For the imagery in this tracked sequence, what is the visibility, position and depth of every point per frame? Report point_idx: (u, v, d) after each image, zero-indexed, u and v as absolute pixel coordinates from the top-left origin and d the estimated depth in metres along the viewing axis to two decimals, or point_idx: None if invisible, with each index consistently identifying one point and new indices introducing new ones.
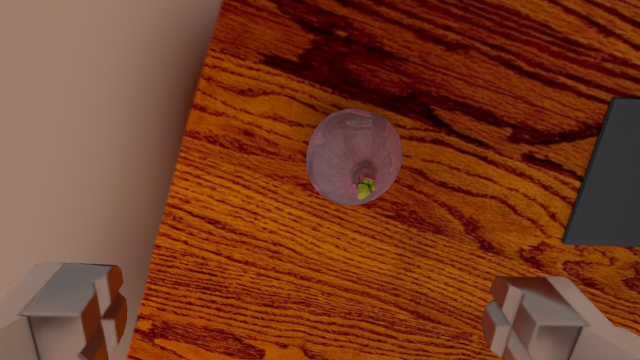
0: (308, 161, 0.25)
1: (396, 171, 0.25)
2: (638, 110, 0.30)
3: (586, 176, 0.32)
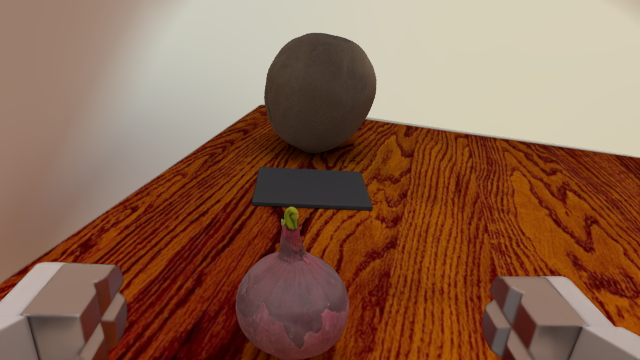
0: (293, 326, 0.20)
1: None
2: (260, 193, 0.43)
3: (313, 205, 0.42)
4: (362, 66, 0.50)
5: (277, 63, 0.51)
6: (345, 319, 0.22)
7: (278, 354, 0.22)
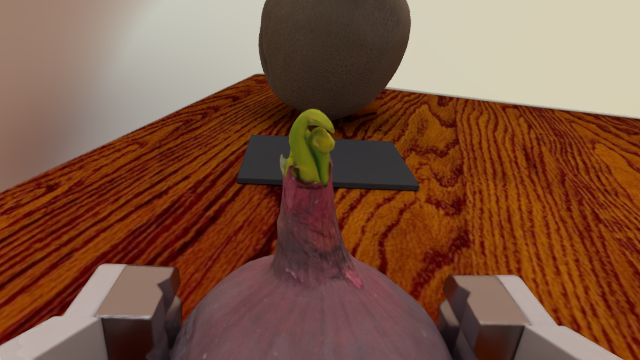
0: None
1: None
2: (251, 166, 0.29)
3: None
4: None
5: None
6: None
7: None
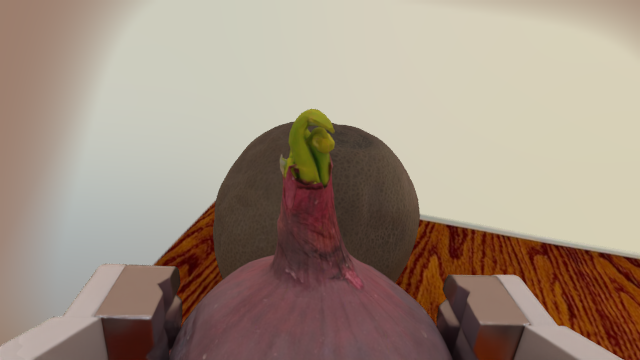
0: None
1: None
2: None
3: None
4: (397, 199, 0.25)
5: (232, 187, 0.26)
6: None
7: None
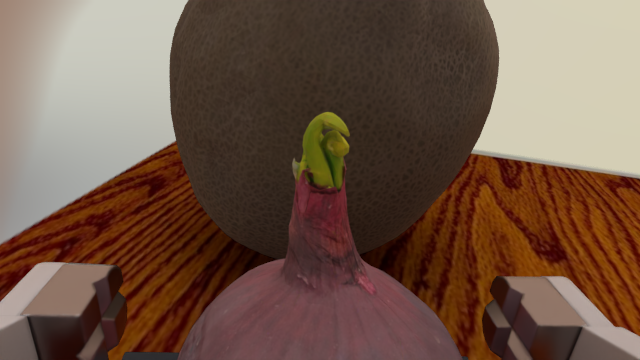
0: None
1: None
2: None
3: None
4: (474, 7, 0.15)
5: (195, 0, 0.16)
6: None
7: None
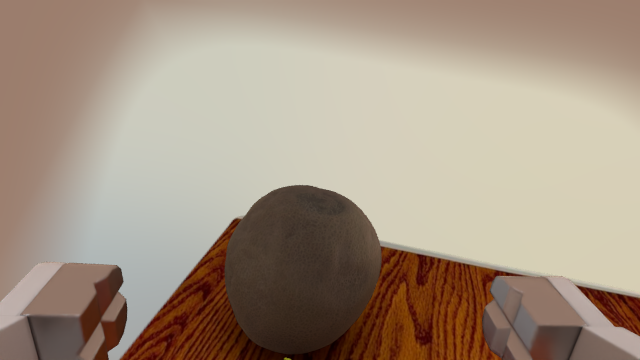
0: None
1: None
2: None
3: None
4: (361, 252, 0.34)
5: (239, 242, 0.35)
6: None
7: None
